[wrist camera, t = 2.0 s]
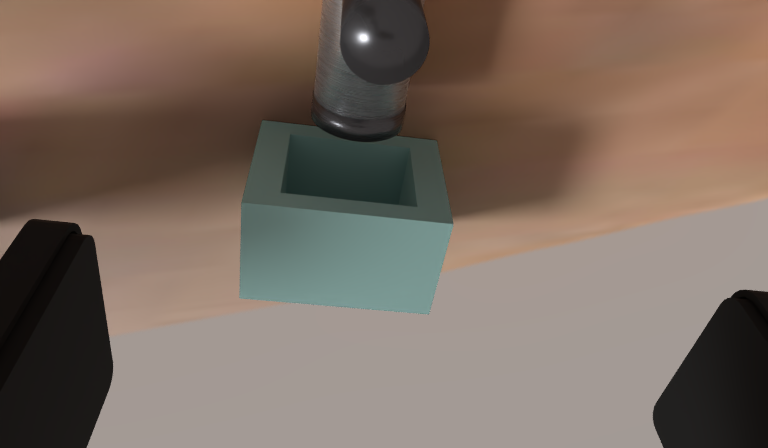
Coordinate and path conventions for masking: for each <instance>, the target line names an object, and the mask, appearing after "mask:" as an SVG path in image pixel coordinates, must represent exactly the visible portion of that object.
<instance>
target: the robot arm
mask: <svg viewBox="0 0 768 448" xmlns="http://www.w3.org/2000/svg"><path fill="white" fill-rule="evenodd" d="M112 374H113V360H112V354H111V347H110V341H109V334H108V327H107V320H106V314H105V307H104V300H103V294H102V287H101V281H100V274H99V267H98V261H97V254H96V248H95V242H94V239H93V237H92V236H90V235H82V233H81V229H80V227H79V226H78V224H76V223H69V222H59V221H49V220H39V219H32V220H29V221H28V222H27V223H26V224H25V225H24V226H23V228H22V229H21V231H20V232H19V234H18V235H17V236H16V238H15V239H14V241H13V242H12V244H11V245H10V246H9V248H8V249H7V251H6V252H5V254H4V255H3V257H2V258H1V259H0V448H86V447H87V445H88V442H89V440H90V437H91V435H92V432H93V429H94V427H95V424H96V421H97V419H98V417H99V414H100V411H101V409H102V406H103V404H104V401H105V399H106V396H107V393H108V391H109V388H110V385H111V380H112ZM653 421H654V426H655V429H656V431H657V434H658V436H659V438H660V440H661V443H662V445H663V447H664V448H768V292H763V291H753V290H739V291H737V292H735V293H734V294H733V295H732V296H731V298H727V299H726V300H724V301H723V302H722V303H721V304H720V306H719V307H718V309H717V310H716V312H715V314H714V315H713V317H712V318H711V320H710V321H709V323H708V324H707V326H706V327H705V329H704V330H703V332H702V333H701V335H700V336H699V338H698V340H697V341H696V343H695V344H694V346H693V347H692V349H691V350H690V352H689V353H688V355H687V356H686V358H685V360H684V361H683V363H682V364H681V366H680V367H679V369H678V370H677V372H676V373H675V375H674V376H673V378H672V379H671V381H670V382H669V384H668V386H667V387H666V389H665V390H664V392H663V393H662V395H661V396H660V398H659V399H658V401H657V403H656V405H655V406H654V411H653Z"/></svg>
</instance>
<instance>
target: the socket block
mask: <svg viewBox="0 0 768 448" xmlns="http://www.w3.org/2000/svg"><path fill="white" fill-rule="evenodd" d="M452 228H453V219H452V214H451V209H450V204H449V199H448V194H447V189H446V184H445V179H444V174H443V169H442V164H441V159H440V154H439V149H438V144H437V140H428V139H419V138H411V137H402V136H394V137H392V138H390V139H387V140H383V141H377V142H357V141H350V140H346V139H342V138H339V137H336V136H333V135H331V134H329V133H327V132H325V131H323V130H322V129H320V128H319V127H317V126H309V125H300V124H292V123H283V122H275V121H266V120H262V123H261V127H260V131H259V135H258V139H257V143H256V147H255V151H254V155H253V159H252V163H251V167H250V171H249V175H248V179H247V183H246V186H245V190H244V194H243V198H242V202H241V249H240V298H242V299H253V300H265V301H277V302H289V303H301V304H313V305H325V306H337V307H349V308H361V309H372V310H384V311H395V312H407V313H420V314H429V312H430V309H431V305H432V301H433V298H434V294H435V290H436V287H437V283H438V279H439V276H440V272H441V268H442V265H443V261H444V257H445V254H446V250H447V246H448V243H449V239H450V235H451V232H452Z"/></svg>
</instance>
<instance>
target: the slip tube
mask: <svg viewBox="0 0 768 448" xmlns="http://www.w3.org/2000/svg"><path fill="white" fill-rule="evenodd" d="M424 2H425V0H323V1H322V12H321V23H320V34H319V44H318V55H317V66H316V77H315V88H314V90H313V97H312V108H311V117H312V120H313V122H314V123H315V124H316V125H317V126H318V127H319V128H320V129H322V130H323V131H325V132H327V133H329V134H331V135H333V136H336V137H339V138H342V139H346V140H350V141H357V142H377V141H383V140H387V139H390V138H392V137H394V136H396V135H397V134H398V133H399V132H400V131H401V129H402V125H403V120H404V114H405V109H406V98H407V92H408V87H409V82H410V77H411V76H412V75H413V74H414V73H415V72H416V71H417V70H418V69H419V68H420V67H421V66H422V64H423V62H424V61H425V59H426V56H427V54H428V50H429V31H428V27H427V23H426V19H425V15H424V11H423V7H424Z"/></svg>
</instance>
